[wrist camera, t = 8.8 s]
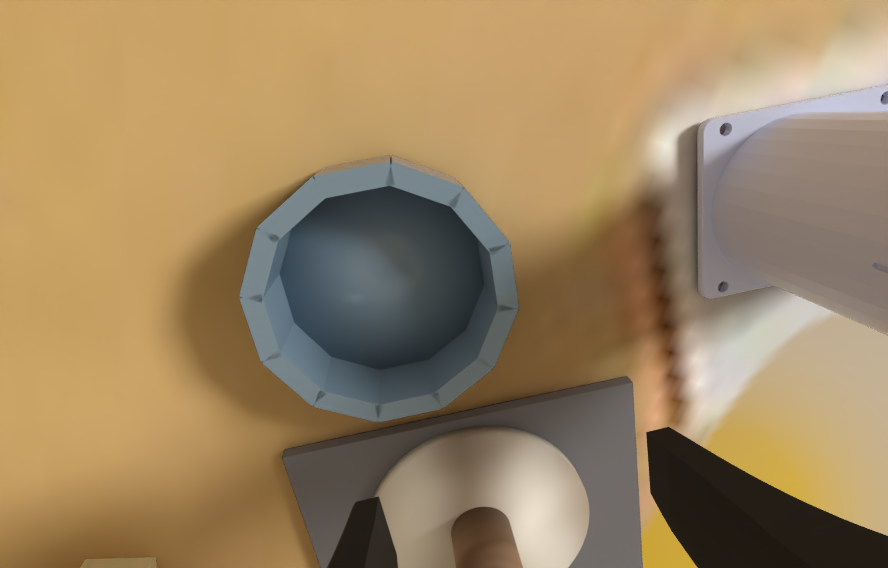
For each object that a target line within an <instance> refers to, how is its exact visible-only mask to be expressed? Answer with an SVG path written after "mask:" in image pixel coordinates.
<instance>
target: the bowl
mask: <svg viewBox="0 0 888 568" xmlns="http://www.w3.org/2000/svg"><path fill="white" fill-rule="evenodd" d="M239 297H240V298H239V299H240V302H241V305H242V308H243V311H244V314H245V317H246V320H247V323H248V326H249V329H250V332H251V335H252V337H253V340H254V343H255V346H256V349H257V352H258V355H259V358H260V361H263V362H262V364H263V365H265V366H266V367H267V368H268V369H269V370H270V371H271V372H273V373H274V374H275V375H276V376H277V377H278V378H280V379H281V380H282V381H283V382H284V383H285V384H287V385H288V386H289V387H290V388H291V389H292V390H293V391H295V392H296V393H297V394H298V395H299V396H300V397H302V398H303V399H304V400H305V401H306V402H307V403H309V404H310V405H311V406H313V405H314V407H315V408H319V409H323V410H327V411H331V412H336V413H340V414H344V415H348V416H352V417H356V418H360V419H364V420H369V421H373V422H377V421H379V422H384V421H389V420H393V419H398V418H403V417H407V416H412V415H416V414H421V413H426V412H430V411H435V410H440V409H442V407H443V408H444V407H446V406H447V405H448V404H450V403H451V402H452V401H453V400H455V399H456V398H457V397H458V396H460V395H461V394H462V393H463V392H465V391H466V390H467V389H468V388H470V387H471V386H472V385H474V384H475V383H476V382H477V381H479V380H480V379H481V378H482V377H484V376H485V375H486V374H487V373H489V372H490V371H491V370H492V369H493V368H494V367H495V364H496V362H497V360H498V357H499V355H500V353H501V350H502V348H503V346H504V343H505V341H506V339H507V336H508V334H509V331H510V329H511V327H512V324H513V322H514V320H515V317H516V315H517V313H518V308H519V305H518V297H517V290H516V283H515V275H514V268H513V261H512V253H511V246H510V243H509V241H508V240H507V238H506V237H505V236H504V235H503V234H502V232H501V231H500V230H499V229H498V227H497V226H496V225H495V224H494V223H493V221H492V220H491V219H490V218H489V217H488V215H487V214H486V213H485V212H484V210H483V209H482V208H481V207H480V206H479V204H478V203H477V202H476V201H475V200H474V198H473V197H472V196H471V195H470V193H469V192H468V191H467V190H466V189H465V188H464V187H463V186H462V185H461V184H460V183H459V182H458V181H457V180H456V179H455V178H454V177H452V176H449V175H446V174H443V173H441V172H438V171H435V170H432V169H429V168H427V167H424V166H421V165H418V164H416V163H413V162H410V161H407V160H404V159H402V158H399V157H396V156H393V155H392V156H391V158H390V155H386V156H381V157H376V158H370V159H365V160H360V161H355V162H350V163H344V164H339V165H334V166H329V167H324V168H322V169H321V170H320V171H319V172H317V173H316V174H315V175H314V176H312V177H311V178H310V179H309V180H308V181H307V182H306V183H305V184H304V185H303V186H301V187H300V188H299V189H298V190H297V191H296V192H295V193H294V194H293V195H292V196H291V197H289V198H288V199H287V200H286V201H285V202H284V203H283V204H282V205H281V206H280V207H279V208H277V209H276V210H275V211H274V212H273V213H272V214H271V215H270V216H269V217H268V218H267V219H265V220H264V221H263V222H262V223H261V224H260V225H259V226H258V228H257V229H256V231H255V235H254V239H253V243H252V247H251V251H250V255H249V259H248V263H247V267H246V271H245V275H244V279H243V283H242V287H241V291H240V295H239ZM492 367H493V368H492ZM441 406H442V407H441Z"/></svg>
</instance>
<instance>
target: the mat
mask: <svg viewBox="0 0 888 568" xmlns="http://www.w3.org/2000/svg"><path fill="white" fill-rule="evenodd" d="M476 426H502V427H511V428H515V429H519V430H523V431H527V432H529V433H532V434H534V435H537V436H539V437H541V438H543V439H545V440H546V441H548V442H550V443H551V444H553V445H554V446H555V447H556V448H558V449H559V450H560V451H561V452H562V453H563V454H564V455H565V456H566V457H567V458H568V459H569V461H570V462H571V464H572V465H573V466H574V468H575V470H576V472H577V474H578V476H579V477H580V479H581V481H582V484H583V486H584V488H585V490H586V494H587V497H588V502H589V511H590V513H589V525H588V530H587V534H586V537H585V540H584V542H583V545H582V547H581V549H580V551H579V553H578V554H577V556H576V558H575V559H574V560H573V562H572V563H571V565H570V566H569V567H568V568H643V562H642V545H641V526H640V507H639V489H638V470H637V452H636V434H635V415H634V397H633V382H632V381H631V380H630V379H629V378H628V377H627V376H626V377H621V378H616V379H612V380H607V381H602V382H598V383H593V384H589V385H584V386H579V387H575V388H570V389H565V390H561V391H556V392H551V393H547V394H542V395H537V396H533V397H528V398H523V399H519V400H514V401H509V402H505V403H500V404H496V405H491V406H486V407H482V408H477V409H472V410H468V411H463V412H458V413H454V414H449V415H444V416H440V417H435V418H430V419H426V420H421V421H416V422H412V423H407V424H403V425H398V426H393V427H389V428H384V429H379V430H375V431H370V432H365V433H361V434H356V435H351V436H347V437H342V438H337V439H333V440H328V441H323V442H319V443H314V444H310V445H305V446H300V447H296V448H291V449H286V450H284V453H283V457H282V459H283V462H284V465H285V468H286V471H287V474H288V476H289V479H290V482H291V485H292V488H293V491H294V493H295V496H296V499H297V502H298V505H299V508H300V510H301V513H302V516H303V519H304V522H305V525H306V527H307V530H308V533H309V536H310V539H311V542H312V545H313V547H314V550H315V553H316V556H317V559H318V562H319V564H320V567H321V568H327V566H328V564H329V562H330V560H331V558H332V556H333V553H334V551H335V549H336V547H337V544H338V542H339V540H340V537H341V535H342V533H343V530H344V528H345V525H346V523H347V520H348V517H349V515H350V512H351V510H352V507H353V505H354V504H355V502H357V501H361V500H366V499H370V498H373V497H374V495H375V492H376V490H377V488H378V486H379V485H380V483H381V481H382V479H383V478H384V477H385V475H386V474H387V473H388V471H389V470H390V469H391V468H392V467H393V466H394V465H395V464H396V463H397V462H398V461H399V460H400V459H401V458H402V457H403V456H405V455H406V454H407V453H408V452H410V451H411V450H412V449H414V448H416V447H417V446H419V445H420V444H422V443H424V442H426V441H428V440H430V439H432V438H434V437H436V436H439V435H441V434H444V433H447V432H450V431H454V430H458V429H463V428H467V427H476Z"/></svg>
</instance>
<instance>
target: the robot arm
mask: <svg viewBox="0 0 888 568" xmlns="http://www.w3.org/2000/svg"><path fill="white" fill-rule="evenodd" d="M882 95H883V96H884V97H883V100H882V102H881V96H882ZM722 124H725V126H726V129H725V132H724V133H723V134H722V135H721V134H720V127H721V126H722ZM697 136H698V291H699V293H700V295H702V296H703V297H705V298H707V299H713V298H718V297H723V296H728V295H732V294H737V293H742V292H747V291H751V290H756V289H761V288H766V287H770V286H777V287H779V288H781V289H784V290H786V291H788V292H790V293H793V294H795V295H797V296H799V297H802V298H804V299H806V300H808V301H811V302H813V303H815V304H818V305H820V306H822V307H824V308H827V309H829V310H831V311H833V312H836V313H838V314H840V315H842V316H845V317H847V318H849V319H852V320H854V321H856V322H858V323H861V324H863V325H865V326H867V327H870V328H872V329H874V330H877V331H879V332H881V333H883V334H885V335H888V84H886V85H881V86H876V87H871V88H866V89H860V90H855V91H850V92H845V93H840V94H835V95H830V96H824V97H819V98H814V99H809V100H804V101H799V102H793V103H788V104H783V105H778V106H773V107H768V108H763V109H757V110H752V111H747V112H742V113H737V114H732V115H727V116H721V117H716V118H711V119H708V120H705V121H704V122H703V123H702V124H701V125H700V127H699V128H698V134H697ZM721 282H723V286H722V287H721V288H720V289H718V285H719V284H720V283H721ZM646 434H647V448H648V462H649V476H650V490H651V495H652V496H653V498H654V500H655V502H656V504H657V506H658V508H659V509H660V511H661V513H662V515H663V517H664V518H665V520H666V522H667V524H668V525H669V527H670V529H671V531H672V532H673V533H674V535H675V536H676V538H677V539H678V541H679V542H680V543H681V545H682V546H683V548H684V549H685V551H686V552H687V553H688V554H689V556H690V558H691V559H692V560H693V562H694V563H695V565H696V566H697V567H698V568H888V536H886V535H883V534H881V533H878V532H875V531H872V530H870V529H867V528H865V527H862V526H859V525H857V524H854V523H852V522H849V521H847V520H844V519H842V518H839V517H837V516H835V515H833V514H830V513H828V512H826V511H823V510H821V509H819V508H817V507H814V506H812V505H809V504H807V503H805V502H803V501H801V500H799V499H797V498H795V497H793V496H790V495H789V494H787V493H784V492H783V491H781V490H779V489H777V488H774V487H773V486H771V485H769V484H767V483H765V482H763V481H761V480H759V479H757V478H755V477H754V476H752V475H750V474H748V473H746V472H745V471H743V470H741V469H739V468H737V467H735V466H734V465H732V464H730V463H729V462H727V461H725V460H723V459H722V458H720V457H718V456H716V455H715V454H713V453H711V452H710V451H708V450H706V449H705V448H703V447H701V446H700V445H698V444H696V443H695V442H693V441H691V440H690V439H688V438H687V437H685V436H683V435H682V434H680V433H678V432H676V431H675V430H673V429H671V428H670V427H666V428H662V429H658V430H654V431H650V432H646ZM327 568H398V562H397V553H396V550H395V547H394V544H393V540H392V537H391V534H390V531H389V527H388V524H387V521H386V518H385V515H384V511H383V508H382V505H381V502H380V498H379V496H378V497H374V498H370V499H366V500H361V501H357V502H355V504H354V505H353V507H352V510H351V512H350V515H349V517H348V520H347V523H346V525H345V528H344V530H343V533H342V535H341V537H340V540H339V542H338V544H337V547H336V549H335V551H334V553H333V556H332V558H331V560H330V562H329V564H328V566H327Z"/></svg>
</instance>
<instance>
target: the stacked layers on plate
mask: <svg viewBox="0 0 888 568" xmlns="http://www.w3.org/2000/svg"><path fill="white" fill-rule="evenodd" d="M80 568H157V562H156V557H140V558H107V559H85V561H84V562H83V564H82V565H81V567H80Z"/></svg>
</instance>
